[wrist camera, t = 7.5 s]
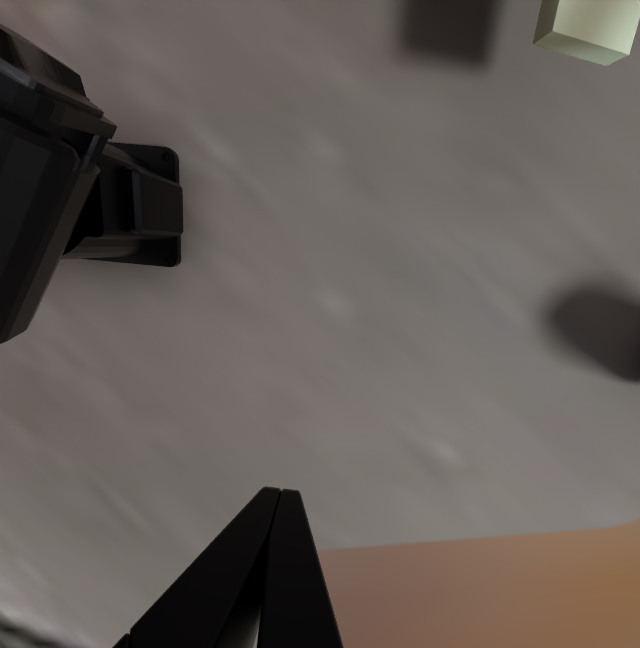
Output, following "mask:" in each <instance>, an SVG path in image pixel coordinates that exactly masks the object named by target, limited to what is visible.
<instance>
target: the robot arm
mask: <svg viewBox="0 0 640 648" xmlns="http://www.w3.org/2000/svg"><path fill="white" fill-rule="evenodd" d="M103 114H104V112H103V111H102V110H101V109H99V108H98V107H97V106H95V105H94V104H93V103H91V102H90V100H89V99H88V98H87V97H86V94H85V91H84V87H83V84H82V81H81V78H80V75H78V74H77V73H76V72H74V71H73V70H72V69H70V68H69V67H67V66H66V65H65V64H63V63H62V62H60V61H59V60H57V59H56V58H54V57H53V56H51V55H50V54H48V53H47V52H45V51H44V50H42V49H41V48H39V47H37V46H36V45H34V44H33V43H31V42H30V41H28V40H27V39H25V38H24V37H22V36H21V35H19V34H17V33H16V32H14V31H12V30H11V29H9V28H7V27H5V26H3V25H1V24H0V344H1V343H4V342H6V341H8V340H10V339H12V338H13V337H15V336H17V335H18V334H20V333H22V332H24V331H25V330H26V329H27V328H28V326H29V324H30V322H31V321H32V319H33V317H34V315H35V313H36V311H37V309H38V307H39V304H40V302H41V300H42V298H43V296H44V293H45V291H46V289H47V287H48V285H49V283H50V280H51V278H52V276H53V274H54V272H55V269H56V267H57V265H58V263H59V261H60V259H77V258H81V259H91V260H101V261H112V262H122V263H133V264H143V265H154V266H164V267H174V266H178V265H179V264H180V262H181V237H180V235H181V234H182V233H183V199H182V188H181V187H180V185H179V159H178V155H177V154H176V152H175V151H173V150H172V149H170V148H167V147H158V146H146V145H133V144H120V143H108V142H107V141H108V138H110V139H112V137H113V135H114V133H115V131H116V128H117V126H116V125H115V124H114V123H112V122H111V121H109V120H108V119H107V118H105V117H104V116H103ZM168 154H170V156H171V159H170V161H169V162H166V156H167V155H168ZM170 255H172V256H173V258H174V260H173V262H171V261H170V260H169V256H170ZM258 628H259V632H258V642H257V648H344V647H343V643H342V640H341V636H340V633H339V629H338V625H337V622H336V618H335V615H334V611H333V608H332V604H331V601H330V597H329V593H328V590H327V586H326V583H325V579H324V576H323V572H322V568H321V565H320V561H319V558H318V554H317V551H316V547H315V543H314V540H313V536H312V533H311V529H310V526H309V522H308V518H307V515H306V511H305V508H304V504H303V501H302V497H301V494H300V492H299V491H298V490H291V489H283V490H282V491H281V489H280V488H275V487H267V486H266V487H263V488H262V489H261V490H260V491H259V492H258V493H257V494H256V495H255V496H254V497H253V498H252V500H251V501H250V502H249V503H248V504H247V505H246V506H245V507H244V508H243V509H242V510H241V511H240V512H239V513H238V514H237V516H236V517H235V518H234V519H233V520H232V521H231V522H230V523H229V524H228V525H227V526H226V527H225V528H224V529H223V530H222V532H221V533H220V534H219V535H218V536H217V537H216V538H215V539H214V540H213V541H212V542H211V543H210V544H209V545H208V547H207V548H206V549H205V550H204V551H203V552H202V553H201V554H200V555H199V556H198V557H197V558H196V559H195V560H194V561H193V563H192V564H191V565H190V566H189V567H188V568H187V569H186V570H185V571H184V572H183V573H182V574H181V575H180V576H179V577H178V579H177V580H176V581H175V582H174V583H173V584H172V585H171V586H170V587H169V588H168V589H167V590H166V591H165V592H164V593H163V595H162V596H161V597H160V598H159V599H158V600H157V601H156V602H155V603H154V604H153V605H152V606H151V607H150V608H149V609H148V611H147V612H146V613H145V614H144V615H143V616H142V617H141V618H140V619H139V620H138V621H137V622H136V623H135V624H134V625H133V627H132V628H131V629H130V636H129V634H128V633H127V634H125V635H124V636H123V637H122V638H121V639H120V640H119V641H118V642H117V643H116V644H115V645H114V646H113V648H253V645H254V642H255V638H256V635H257V631H258Z"/></svg>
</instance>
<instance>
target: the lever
mask: <svg viewBox="0 0 640 648" xmlns="http://www.w3.org/2000/svg"><path fill="white" fill-rule="evenodd" d="M639 18H640V0H542V3H541V8H540V13H539V17H538V22H537V27H536V31H535V36H534V41H533V45H536V46H539V47H543V48H546V49H550V50H553V51H556V52H560V53H563V54H567V55H570V56H574V57H577V58H580V59H584V60H587V61H591V62H594V63H598V64H601V65H604V66H607V65H609V64H611V63H613V62H615V61H617V60H619V59H621V58H624V57H626V56H628V55H629V54H630V50H631V47H632V43H633V39H634V36H635V32H636V29H637V25H638V22H639Z"/></svg>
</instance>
